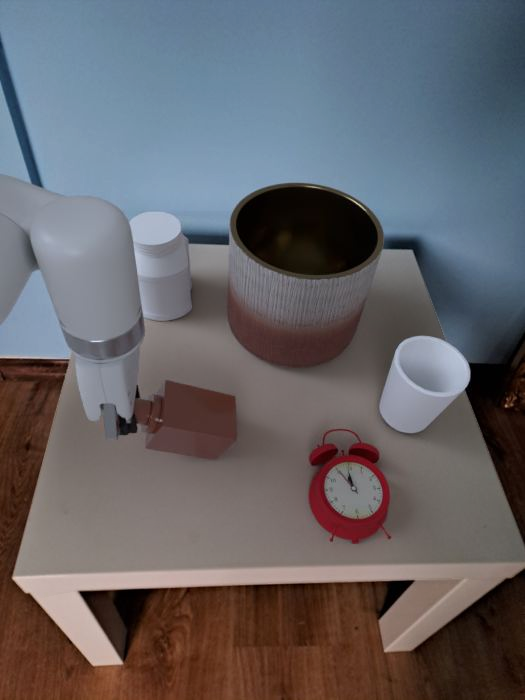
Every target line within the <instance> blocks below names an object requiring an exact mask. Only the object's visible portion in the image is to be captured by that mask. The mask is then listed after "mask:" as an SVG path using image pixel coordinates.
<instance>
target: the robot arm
mask: <svg viewBox="0 0 525 700" xmlns="http://www.w3.org/2000/svg"><path fill="white" fill-rule="evenodd" d="M129 222H130V221H129V220H128V217H127V216H126V214H125V213H124V212H123V211H122V210H121V209H120V208H119V207H118V206H117V205H115V203H113V202H111V201H109V200H107V199H104V198H100V197H97V196H91V195H71V196H68V195H64V194H61V193H58V192H55V191H52V190H49V189H48V188H44V187H42V186H38V185H36V184H33V183H30V182H28V181H25V180H23V179H20V178H16V177H14V176H10V175H7V174H2V173H0V326H1V325H2V324H3V323H4V322H5V321H6V320H7V319H8V317H9V315H10V314H11V313H12V311H13V309H14V308H15V306H16V304H17V302H18V300H19V298H20V297H21V295H22V293H23V291H24V289H25V287H26V286H27V283H28V282H29V280H30V278H31V276H32V275H33V273H34V272H36V271H40V274H41V276H42V279H43V282H44V285H45V287H46V291H47V293H48V296H49V299H50V301H51V304H52V307H53V310H54V313H55V315H56V319H57V321H58V323H59V327H60V329H61V333H62V335H63V337H64V340H65V344H66V346H67V348H68V349H69V351H70V352H71V353H72V354H73V355H74V365H75V368H74V369H75V375H76V381H77V386H78V390H79V394H80V398H81V403H82V405H83V409H84V412H85V416H86V418H87V420H89V421H90V422H99V421H100V419H101V417H102V415H103V423H104V434H105V435H104V437H105V440H106V441H113V440H115V441H118V440H119V437H120V436H128V435H129V434H137V433H138V428H139V427H138V424H137V423H136V418H135V414H134V413H133V410H134V402H135V397H136V398H141V393H140V389H139V385H138V378H139V368H140V354H141V353H140V346H141V344H142V343H143V341H144V338H145V335H146V326H145V319H144V318H145V317H143V311H142V304H141V297H140V289H139V281H138V274H137V266H136V259H135V252H134V244H133V237H132V231H131V227H130V224H129Z"/></svg>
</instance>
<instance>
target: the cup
mask: <svg viewBox="0 0 525 700" xmlns="http://www.w3.org/2000/svg"><path fill="white" fill-rule="evenodd" d="M470 381H471V367H470V364H469V361H468V360H467V359H466V357H465V356H464V355H463V353H461V351H459V349H458V348H457V347H455V346H453V345H452V344H451V343H449V342H447V341H446V340H444V339H442V338H439V337H434V336H431V335H415V336H411V337H409V338H405V339H404V340H403V341H402V342H400V343H399V345H398V346H397V348H396V349H395V353H394V354H393V358H392V361H391V365H390V368H389V371H388V374H387V378H386V381H385V384H384V387H383V390H382V394H381V397H380V400H379V406H378V407H379V413H380V415H381V417H382V419H383V422H384V423H385V425H386V426H387V427H390V428H392V429H394V430H395V431H397V432H401V433H404V434H406V435H414V434H416V433H420V432H421V431H424V430H425V429H426V428H427V427H429V425H430V424H432V422H433V421H434V420H435V419H436V418H437V417H439V415H441V413H443V412H444V411H445V409H446V408H448V407H449V405H451V404H452V403H453V401H455V400H456V399H457V398H458V396H460V395H461V394H462V393H463V392H464V390H465V389H466V388H467V387H468V385H469V383H470Z"/></svg>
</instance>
